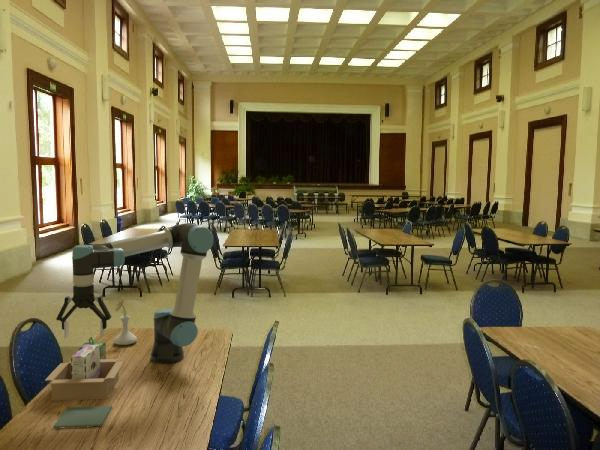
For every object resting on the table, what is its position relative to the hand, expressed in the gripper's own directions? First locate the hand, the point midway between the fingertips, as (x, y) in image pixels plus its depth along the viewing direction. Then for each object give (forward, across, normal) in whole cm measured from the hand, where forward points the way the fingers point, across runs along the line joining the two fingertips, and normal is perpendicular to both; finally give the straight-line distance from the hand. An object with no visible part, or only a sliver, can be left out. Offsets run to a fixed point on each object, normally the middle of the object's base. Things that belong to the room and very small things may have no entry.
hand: (84, 337), depth 201 cm
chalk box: (+22, +3, -20) cm, 30 cm away
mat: (+22, -6, +24) cm, 33 cm away
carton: (+22, 0, 0) cm, 22 cm away
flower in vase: (+22, -3, -54) cm, 59 cm away
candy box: (+22, 0, 0) cm, 22 cm away
